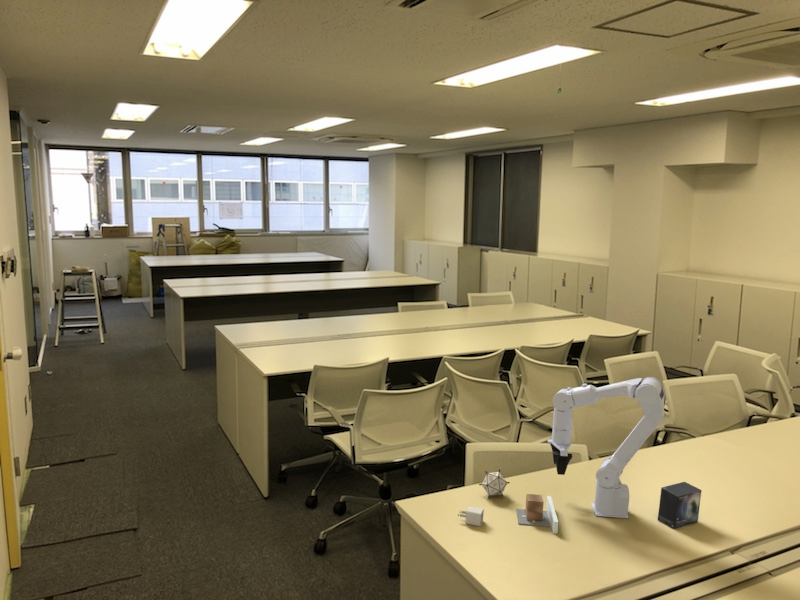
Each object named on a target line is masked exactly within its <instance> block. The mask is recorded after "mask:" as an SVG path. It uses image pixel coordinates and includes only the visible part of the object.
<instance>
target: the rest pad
mask: <svg viewBox="0 0 800 600" xmlns="http://www.w3.org/2000/svg"><path fill="white" fill-rule="evenodd" d="M525 510H526V508H525V509H524V508H516V511H515V512H516V516H517V523H518V525H521V526H522V525H523V526H532V527H533V526H534V527H535V526H536V527H547V528H550V527H551V523H550V519H549V515H548V511H547V510H543V519H542V521H533V520H527V519H526V513H525Z"/></svg>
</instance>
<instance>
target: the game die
mask: <svg viewBox="0 0 800 600" xmlns="http://www.w3.org/2000/svg"><path fill="white" fill-rule="evenodd" d="M484 472H485V476H484V478H483V480H482V482H481V483H479V484H478V486H482V488H483V489H484V490H485V492H486V493H487V495H488V497H487V499H490V498H491V497H493V496H500V495H501V497H504V494H503V493H504V491H505V489H506V486H507V485H508V484H510V483H511V482H510V481H507V480H506V479H505V478H504V476H503V474H502V473H501V468H499V469H498V471H491V472H490V471H489V472H488V471H486V470H485V471H484Z"/></svg>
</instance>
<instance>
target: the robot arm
mask: <svg viewBox="0 0 800 600" xmlns="http://www.w3.org/2000/svg"><path fill="white" fill-rule="evenodd" d="M665 395H666V394H665V390H664V387H663V385H662V382H661V381H660V380H659V379H658V378H656V377H653V376H647V377H644V378H643V377H637V378H632V379H628V380H623V381H619V382H615V383H611V384H610V383H609V384H607V385H603V386H599V387H597V386H595V385H592V384H588V383H582V385H581V386H578V387H572V386H569V387H567V388H561V389H560V390H559V391H557V393H555V394H554V395H553V397H552V402H551V403H552V406H553V412H552V413H553V415H552V431H551V438H549V439H547V443H548V445H550V448H551V452H552V458H553V459H552V460H553V464H554V465H555V466H556V474H557V475H561V476H565V474H566V471H567V468H568V466H569V464H570V461H571V460H572V458H573V454H572V453H569V449H570V447H571V446H572V440H571V439H572V425H573V407H574V408H578V407H585V406H588V405H593V404H597V403H598V400H599V399H604V398H612V397H618V396H627V397H628V398H630V399H631V400H634V399H636V401H637V402H638V404H639V405H640V406H641V408H642V412H643V414H644V415H643V416H642V418H641V419H640V420H639V421H638V423H637V424H636V425H635V426H634V428H633V429H632V430H631V432H630V433H629V434H628V436H627V437H626V438H625V439H624V441H622V443H621V444H620V445H619V447H618V448H617V449H616V450H615V451H614V453H613V454H612V455H611V456H610V457H607V458H605V459H604V460H603V461H602V463H601V465H600V467H599V469H597V471H596V474H595V478H596V483H595V497H594V502H590V506H591V507H592V510H593V513H594V515H595V516H596V517H603V518H604V517H605V518H606V517H608V518H620V519H628V518H629V504H630V490H629V486H628V484H625V483H622V481H621V479H620V477H621V475H622V474H623V472H624V470H625V468H626V466H627V465H628V464H629V462H630V461H631V460H632V459H633V458H634V456H635V455H636V454H637V453H638V451H639V450H640V449H641V448H642V446H643V445H644V444H645V443H646V441H647V440H648V438H649V437H650V436H651V435H652V434H653V433H654V431H655V430H656V429H657V427H658V426H659V425H660V424H661V422H662V421H663V420H664V416H665Z"/></svg>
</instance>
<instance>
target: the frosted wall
mask: <svg viewBox="0 0 800 600" xmlns="http://www.w3.org/2000/svg"><path fill="white" fill-rule="evenodd" d="M545 505H546V511H547V515H548V519H549V523H550V527H551V529H552V533H553V534H555V535H556V534H558V531H559V520H558V517H557V513H556V510H555V505H554V501H553V498H552V496H551V495H547V496H546V503H545Z"/></svg>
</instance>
